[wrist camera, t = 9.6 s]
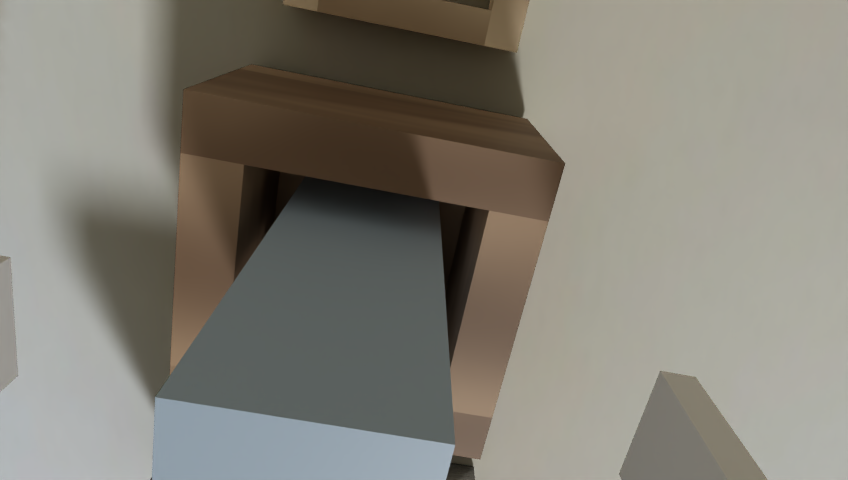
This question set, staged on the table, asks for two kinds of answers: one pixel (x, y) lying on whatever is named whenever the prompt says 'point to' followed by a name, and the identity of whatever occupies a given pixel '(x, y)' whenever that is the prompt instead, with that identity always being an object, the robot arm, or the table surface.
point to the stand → (435, 18)
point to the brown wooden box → (377, 169)
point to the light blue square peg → (321, 351)
